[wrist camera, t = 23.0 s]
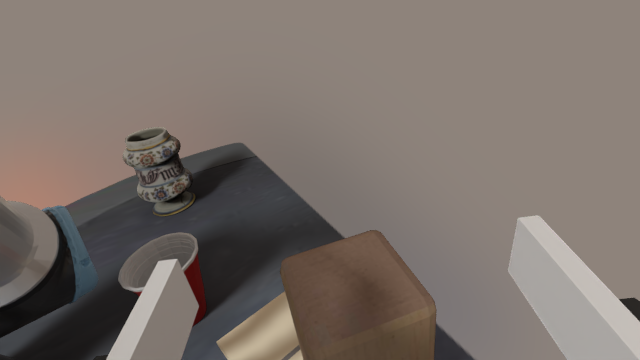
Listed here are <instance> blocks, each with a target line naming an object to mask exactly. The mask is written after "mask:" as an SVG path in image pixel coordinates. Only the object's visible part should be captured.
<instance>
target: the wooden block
mask: <svg viewBox="0 0 640 360" xmlns="http://www.w3.org/2000/svg"><path fill="white" fill-rule="evenodd" d="M280 274H281V278H282V282H283V285H284V289H285V293H286V297H287V300H288V304H289V308H290V312H291V316H292V319H293V323H294V327H295V331H296V334H297V338H298V342H299V346H300V349H301V353H302V357H303V360H434V346H435V327H436V307H435V302H434V300H433V298H432V297H431V296H430V294H429V293H428V292H427V290H426V289H425V288H424V287H423V285H422V284H421V283H420V281H419V280H418V279H417V278H416V276H415V275H414V274H413V273H412V271H411V270H410V269H409V268H408V266H407V265H406V264H405V263H404V261H403V260H402V259H401V257H400V256H399V255H398V254H397V252H396V251H395V250H394V248H393V247H392V246H391V245H390V244H389V242H388V241H387V240H386V238H385V237H384V236H383V235H382V233H381V232H379V231H376V230H370V231H367V232H364V233H361V234H358V235H355V236H352V237H349V238H345V239H342V240H339V241H336V242H333V243H330V244H327V245H324V246H321V247H318V248H314V249H311V250H308V251H305V252H302V253H299V254H296V255H293V256H290V257H287V258H286V259H284V260H283V261H282V265H281V270H280Z"/></svg>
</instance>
